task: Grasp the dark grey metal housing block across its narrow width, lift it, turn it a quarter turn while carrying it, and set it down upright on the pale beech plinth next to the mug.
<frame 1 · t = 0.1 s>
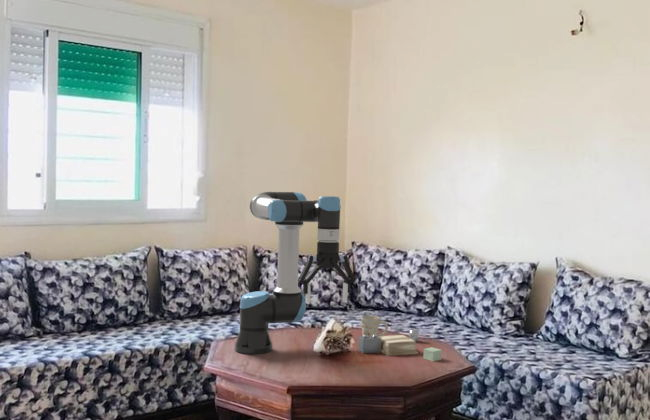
hand: (326, 302, 227), 28 cm above the table, fingers open, 13 cm apart
housing: (369, 351, 274), on the table
plinth: (395, 350, 275), on the table
grey bushing: (413, 341, 293), on the table
mug: (374, 339, 294), on the table
sage block: (432, 359, 264), on the table
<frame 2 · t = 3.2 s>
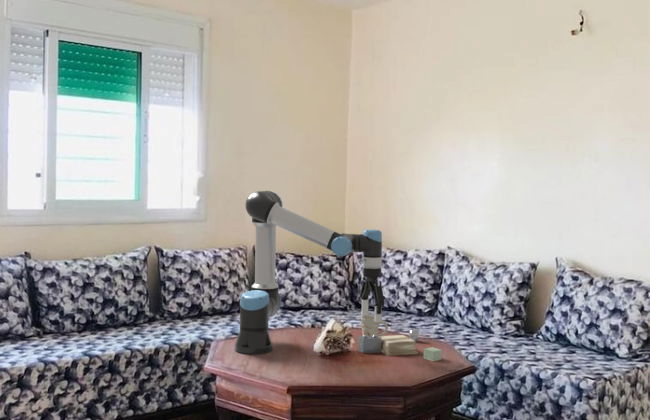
hand: (371, 318, 273), 14 cm above the table, fingers open, 13 cm apart
nothing on the table moved.
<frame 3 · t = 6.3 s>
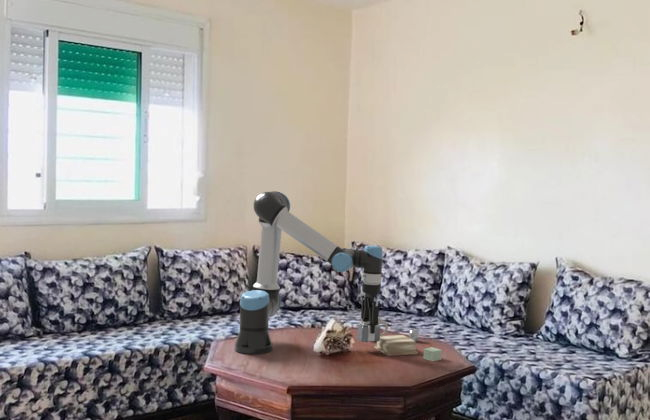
hand: (368, 338, 274), 5 cm above the table, fingers closed on housing, 5 cm apart
housing: (368, 340, 274), point 5 cm above the table, touching gripper
everything else where it was.
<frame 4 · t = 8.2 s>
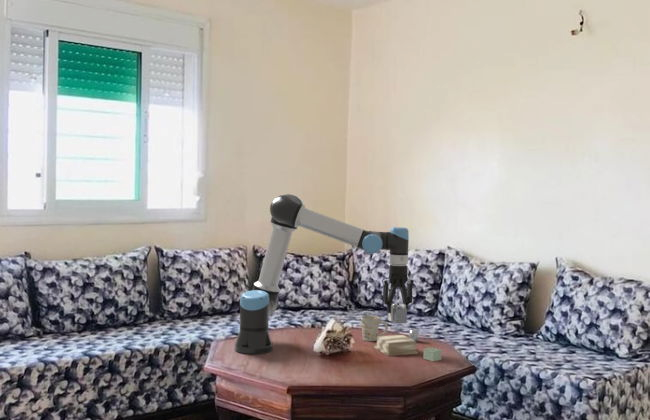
hand: (396, 320, 275), 13 cm above the table, fingers closed on housing, 5 cm apart
housing: (396, 321, 275), point 12 cm above the table, touching gripper
everything else where it was.
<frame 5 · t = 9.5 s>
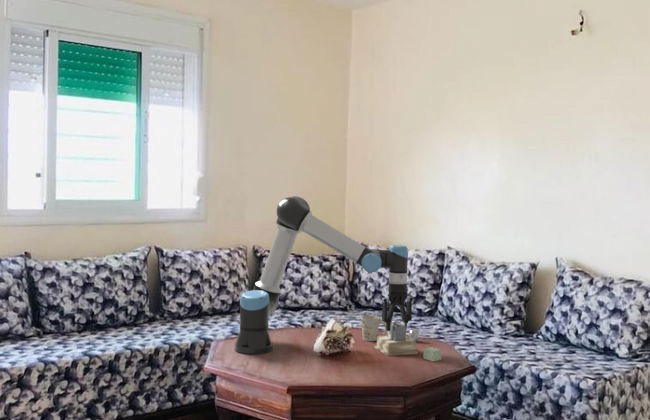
hand: (396, 338, 275), 5 cm above the table, fingers closed on housing, 5 cm apart
housing: (396, 338, 275), point 5 cm above the table, touching gripper, plinth
everything else where it was.
when the fingers open (5 cm above the table, at t = 10.2 s): housing stays where it is, resting on plinth.
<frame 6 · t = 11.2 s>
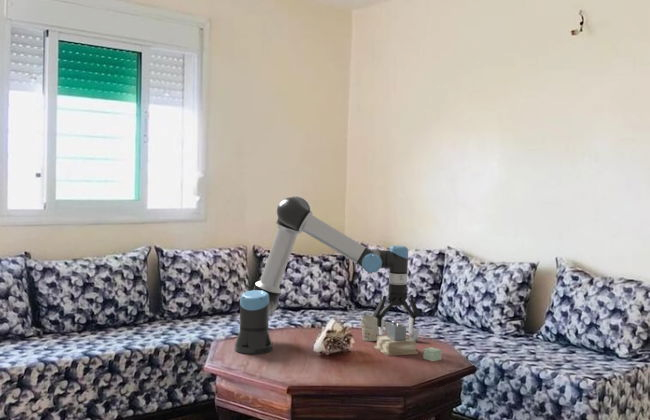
hand: (395, 333, 275), 7 cm above the table, fingers open, 13 cm apart
housing: (396, 338, 275), point 5 cm above the table, touching plinth
everything else where it was.
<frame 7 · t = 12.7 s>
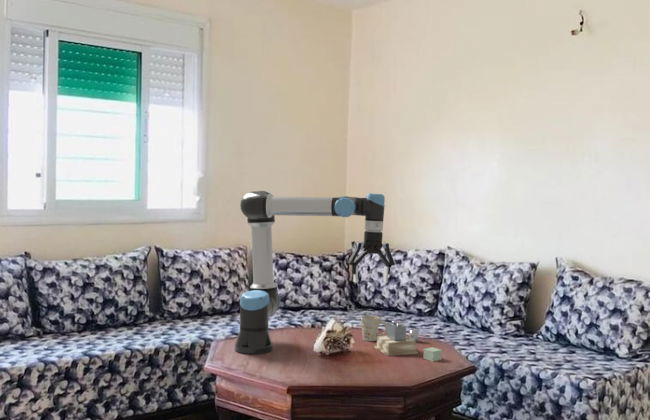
hand: (370, 282, 273), 28 cm above the table, fingers open, 13 cm apart
nothing on the table moved.
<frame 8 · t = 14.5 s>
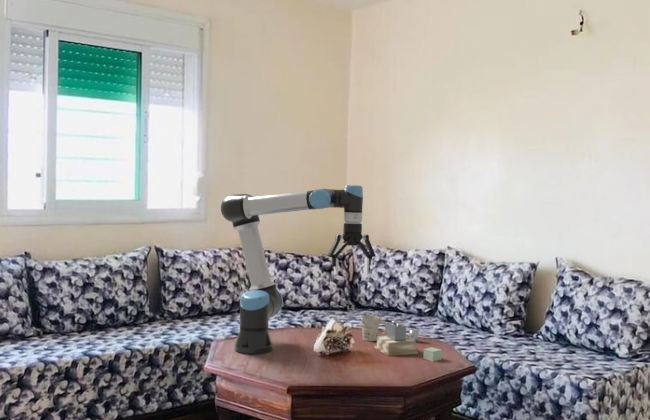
hand: (351, 274, 272), 32 cm above the table, fingers open, 13 cm apart
nothing on the table moved.
at the end: housing inside the target area on the plinth (0.0 cm from its centre), point 5.0 cm above the plinth's base; housing tilted 0°; the gripper is holding nothing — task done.
